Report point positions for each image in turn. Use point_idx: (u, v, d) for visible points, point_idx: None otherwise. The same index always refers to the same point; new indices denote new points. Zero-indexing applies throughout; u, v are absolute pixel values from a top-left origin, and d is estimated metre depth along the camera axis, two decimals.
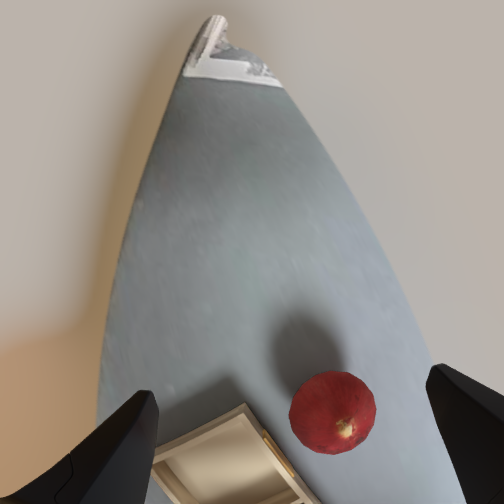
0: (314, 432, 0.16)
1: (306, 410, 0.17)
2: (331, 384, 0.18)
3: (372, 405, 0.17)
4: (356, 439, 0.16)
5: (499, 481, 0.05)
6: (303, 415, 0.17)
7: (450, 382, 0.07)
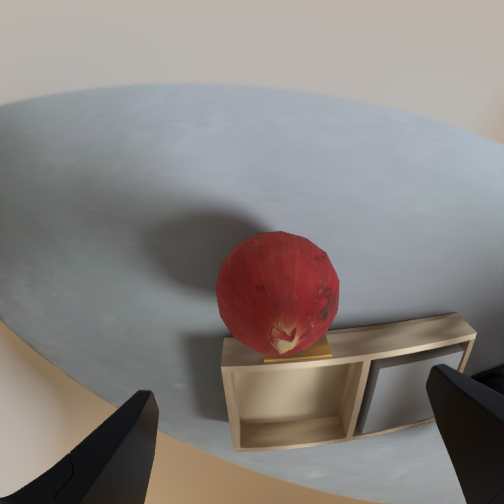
0: (270, 353, 0.13)
1: (240, 340, 0.14)
2: (226, 296, 0.13)
3: (292, 265, 0.13)
4: (318, 321, 0.12)
5: (499, 481, 0.05)
6: (245, 344, 0.14)
7: (450, 382, 0.07)
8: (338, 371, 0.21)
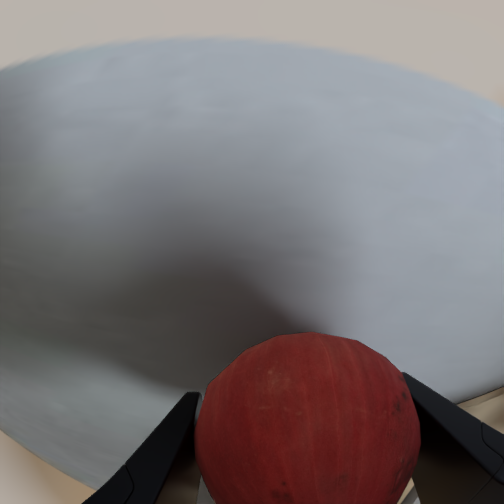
0: None
1: None
2: (211, 477, 0.05)
3: (354, 447, 0.05)
4: None
5: (457, 503, 0.05)
6: None
7: None
8: None
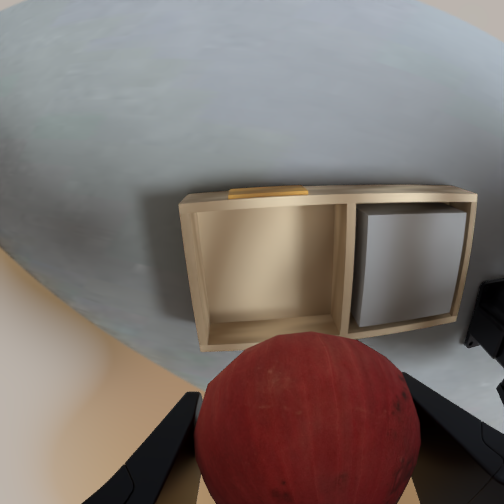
0: None
1: None
2: (211, 477, 0.05)
3: (354, 446, 0.05)
4: None
5: (457, 502, 0.05)
6: None
7: None
8: (322, 242, 0.19)
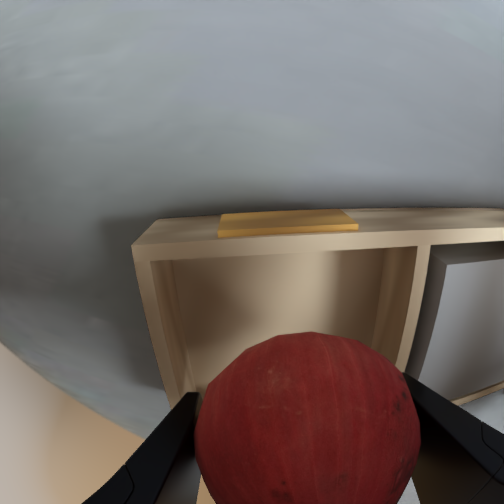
0: None
1: None
2: (211, 477, 0.05)
3: (354, 446, 0.05)
4: None
5: (457, 502, 0.05)
6: None
7: None
8: (364, 294, 0.12)
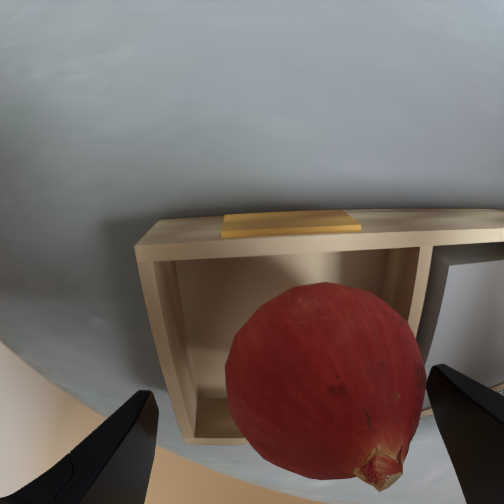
0: None
1: (280, 466, 0.07)
2: (260, 404, 0.07)
3: (382, 341, 0.07)
4: (417, 421, 0.06)
5: (499, 481, 0.05)
6: None
7: (450, 382, 0.07)
8: None
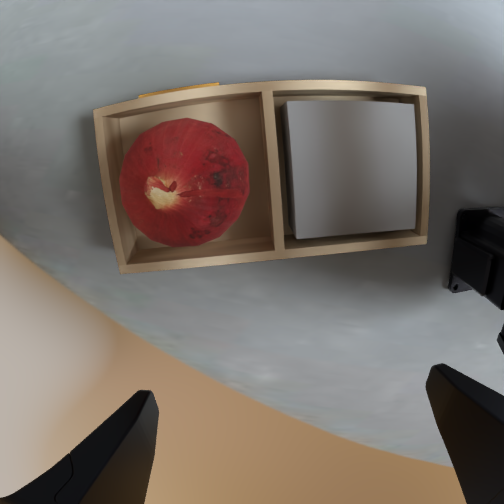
0: (162, 232, 0.12)
1: (134, 221, 0.12)
2: (122, 170, 0.12)
3: (184, 130, 0.11)
4: (208, 184, 0.11)
5: (500, 481, 0.05)
6: (140, 228, 0.13)
7: (450, 382, 0.07)
8: (250, 149, 0.17)
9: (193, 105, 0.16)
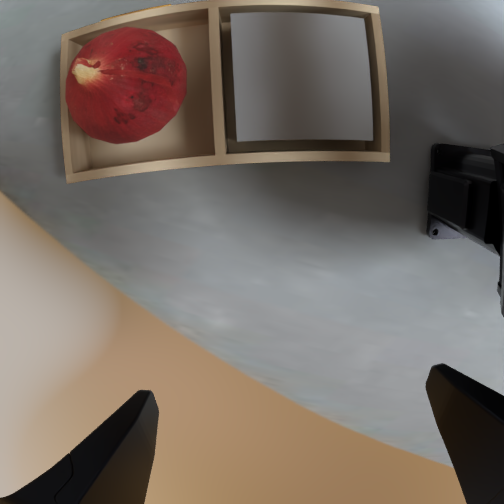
0: (90, 116, 0.11)
1: (72, 113, 0.11)
2: None
3: (122, 30, 0.10)
4: (131, 66, 0.10)
5: (500, 481, 0.05)
6: (76, 120, 0.11)
7: (450, 382, 0.07)
8: (202, 68, 0.16)
9: None
